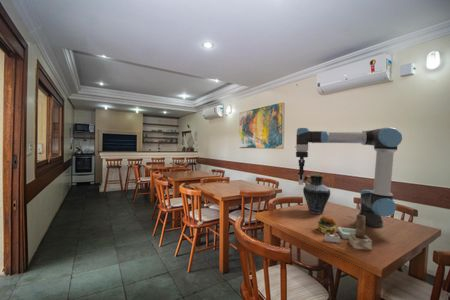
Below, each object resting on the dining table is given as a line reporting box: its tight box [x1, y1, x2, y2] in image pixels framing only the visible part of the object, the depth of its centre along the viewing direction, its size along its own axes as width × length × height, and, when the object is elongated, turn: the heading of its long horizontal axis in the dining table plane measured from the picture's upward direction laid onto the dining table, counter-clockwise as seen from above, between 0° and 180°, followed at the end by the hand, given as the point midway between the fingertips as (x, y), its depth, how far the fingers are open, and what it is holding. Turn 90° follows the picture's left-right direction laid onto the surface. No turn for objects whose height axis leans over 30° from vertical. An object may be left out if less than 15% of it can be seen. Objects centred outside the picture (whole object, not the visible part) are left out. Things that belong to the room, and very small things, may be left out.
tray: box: [337, 226, 356, 240], centre depth 128 cm, size 11×11×2 cm
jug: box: [302, 173, 331, 215], centre depth 171 cm, size 21×19×30 cm
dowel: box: [355, 214, 366, 239], centre depth 115 cm, size 4×4×12 cm
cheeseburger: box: [317, 215, 337, 234], centre depth 135 cm, size 10×11×10 cm
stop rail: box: [324, 233, 341, 244], centre depth 121 cm, size 7×2×4 cm, turn 76°
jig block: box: [348, 233, 373, 251], centre depth 116 cm, size 8×8×5 cm
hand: (300, 183), depth 146 cm, fingers open, 13 cm apart
